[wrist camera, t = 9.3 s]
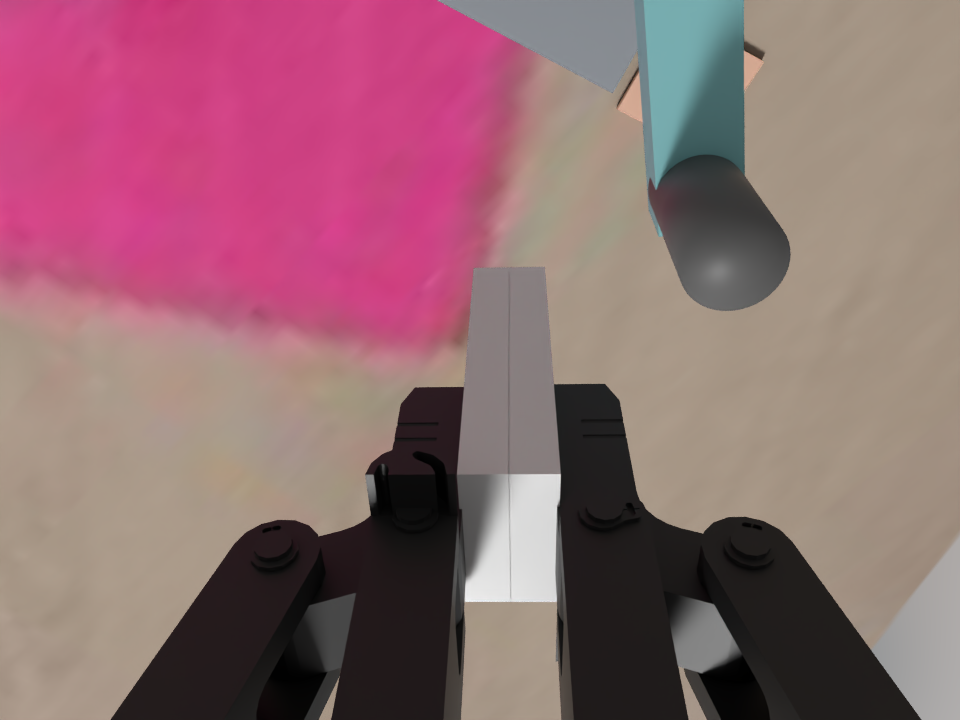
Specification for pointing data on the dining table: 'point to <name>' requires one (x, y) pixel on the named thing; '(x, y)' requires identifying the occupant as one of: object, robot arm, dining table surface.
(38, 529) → the dining table surface
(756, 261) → the crank handle
